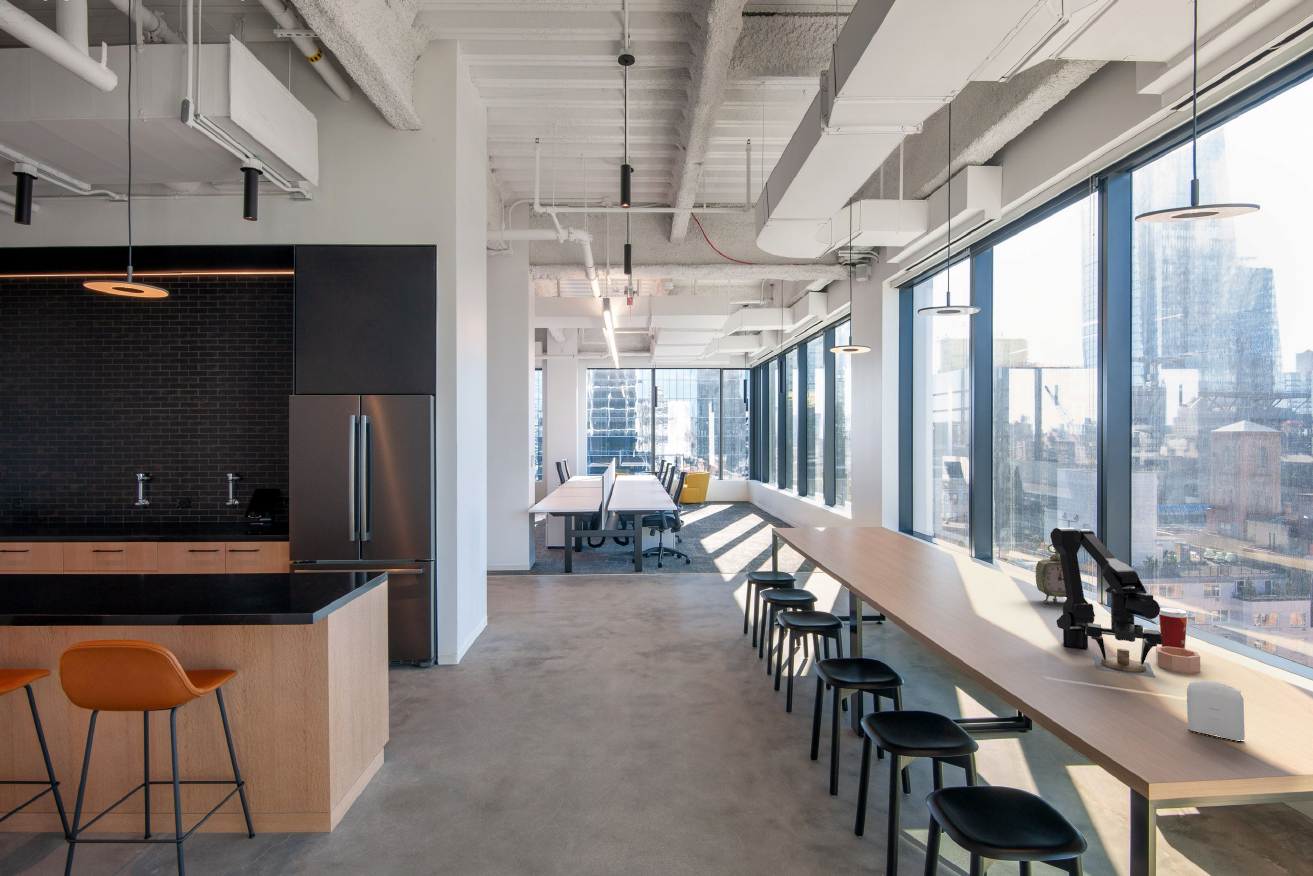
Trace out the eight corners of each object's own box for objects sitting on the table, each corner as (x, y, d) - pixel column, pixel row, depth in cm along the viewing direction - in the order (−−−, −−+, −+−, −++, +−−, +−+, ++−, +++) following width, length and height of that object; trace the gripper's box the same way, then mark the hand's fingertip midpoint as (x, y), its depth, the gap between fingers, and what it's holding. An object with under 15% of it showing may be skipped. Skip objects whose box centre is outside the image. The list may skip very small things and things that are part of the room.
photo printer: (1186, 732, 157) (1185, 679, 157) (1188, 726, 160) (1187, 675, 160) (1244, 745, 150) (1243, 690, 150) (1245, 739, 153) (1244, 685, 153)
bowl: (1159, 671, 198) (1159, 654, 198) (1154, 661, 206) (1154, 644, 206) (1202, 676, 192) (1202, 659, 192) (1195, 666, 201) (1195, 649, 201)
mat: (1097, 671, 198) (1097, 669, 198) (1094, 657, 210) (1094, 655, 210) (1155, 679, 191) (1155, 677, 191) (1148, 664, 203) (1148, 662, 203)
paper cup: (1194, 658, 208) (1193, 613, 208) (1166, 657, 210) (1165, 612, 210) (1179, 650, 216) (1179, 607, 216) (1153, 649, 217) (1152, 606, 217)
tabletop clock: (1042, 605, 275) (1042, 544, 275) (1034, 599, 284) (1033, 541, 284) (1080, 606, 273) (1080, 545, 273) (1070, 600, 282) (1070, 541, 282)
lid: (1102, 668, 198) (1102, 652, 198) (1100, 658, 208) (1099, 642, 208) (1148, 674, 193) (1148, 658, 193) (1143, 663, 202) (1143, 647, 202)
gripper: (1087, 612, 198) (1087, 665, 198) (1165, 620, 189) (1166, 675, 189) (1085, 604, 208) (1085, 654, 208) (1159, 611, 198) (1160, 663, 198)
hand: (1123, 661), depth 200 cm, fingers open, 9 cm apart
